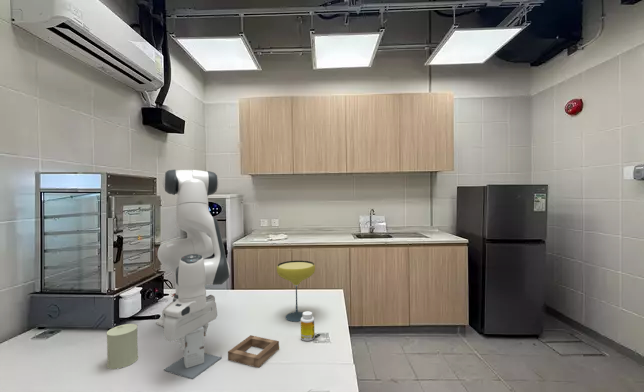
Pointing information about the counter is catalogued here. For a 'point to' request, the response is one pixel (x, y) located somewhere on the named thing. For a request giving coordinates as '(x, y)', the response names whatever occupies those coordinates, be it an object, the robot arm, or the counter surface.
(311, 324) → the supplement bottle
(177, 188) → the robot arm
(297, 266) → the cocktail glass
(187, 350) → the skincare box
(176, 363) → the slate mat
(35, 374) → the counter surface
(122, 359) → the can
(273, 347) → the walnut collar
